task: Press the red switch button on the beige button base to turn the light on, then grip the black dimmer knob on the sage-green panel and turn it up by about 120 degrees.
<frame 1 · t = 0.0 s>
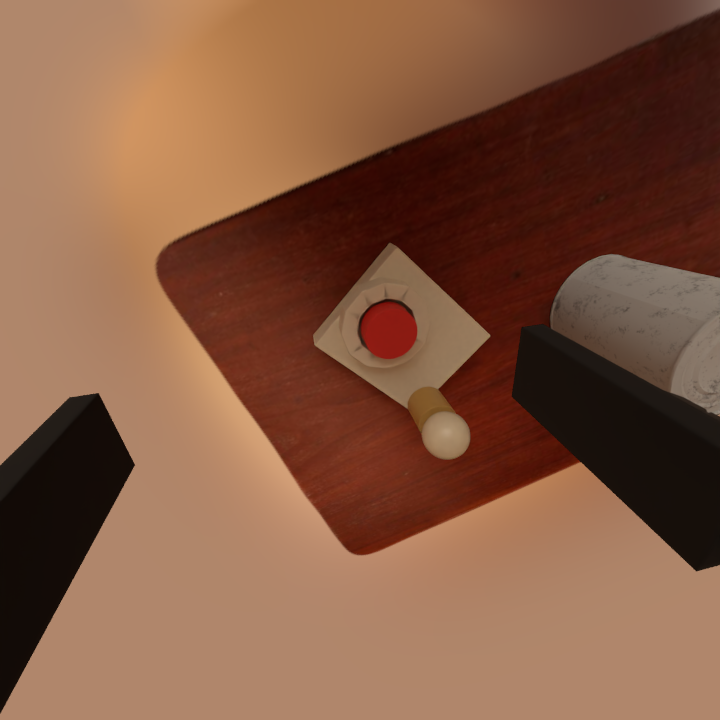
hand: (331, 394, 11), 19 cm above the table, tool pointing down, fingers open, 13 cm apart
unlabeled tin can: (593, 303, 34), on the table
beige button base: (399, 330, 32), on the table
led lamp: (424, 401, 31), resting on beige button base
lamp button: (388, 330, 26), point 4 cm above the table, slide at 0.1 cm
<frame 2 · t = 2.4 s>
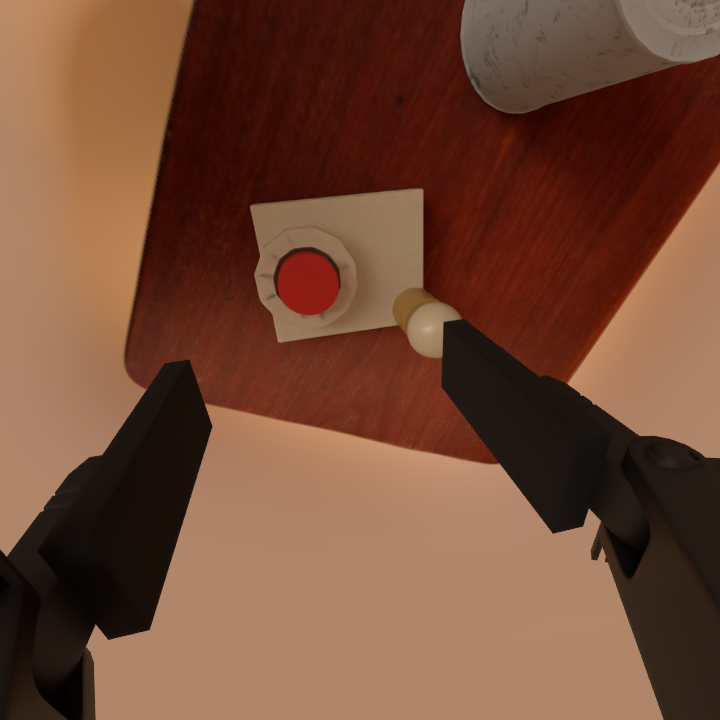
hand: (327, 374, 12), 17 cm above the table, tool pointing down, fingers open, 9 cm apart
unlabeled tin can: (525, 28, 24), on the table
beige button base: (342, 264, 28), on the table
led lamp: (412, 308, 26), resting on beige button base
lamp button: (308, 283, 24), point 4 cm above the table, slide at 0.1 cm
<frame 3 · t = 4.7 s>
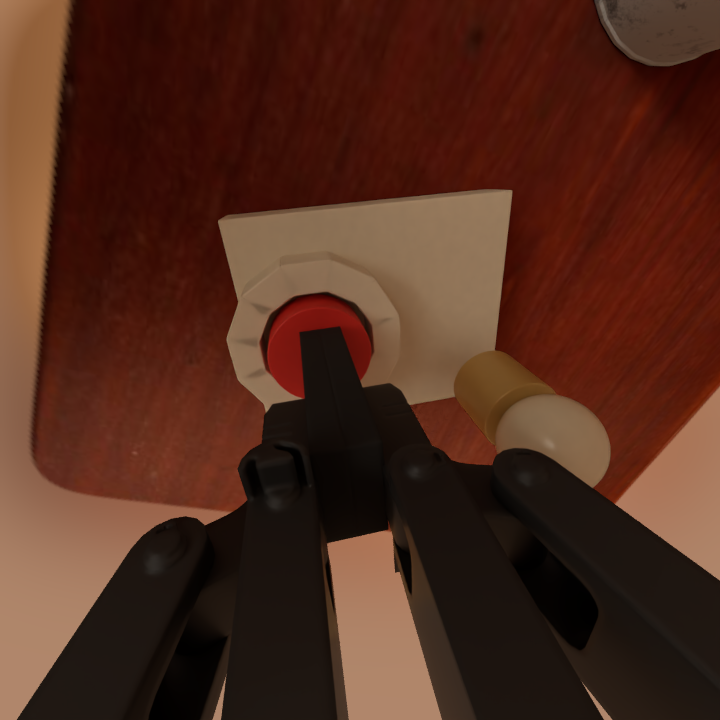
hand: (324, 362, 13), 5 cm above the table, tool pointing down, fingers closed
beige button base: (370, 306, 18), on the table
led lamp: (484, 380, 17), resting on beige button base
lamp button: (319, 347, 14), point 4 cm above the table, slide at -0.4 cm, touching gripper
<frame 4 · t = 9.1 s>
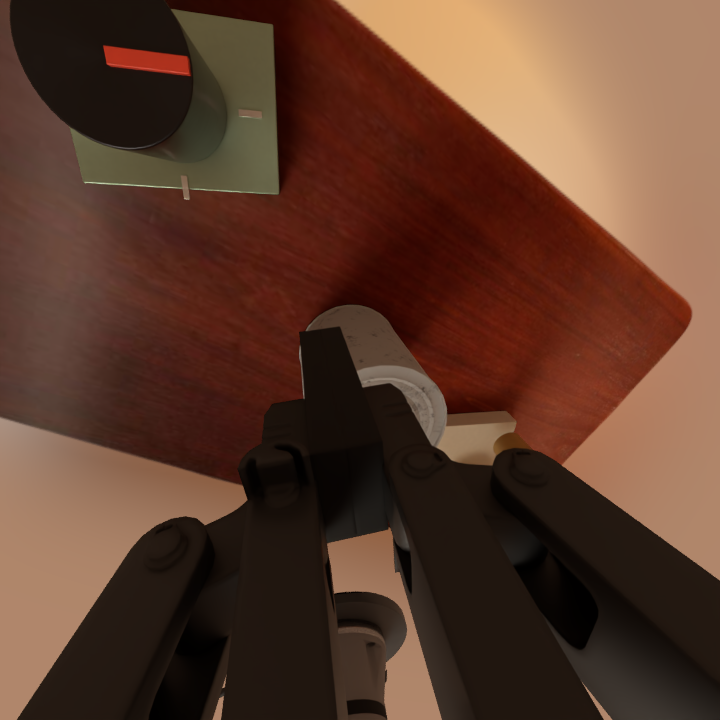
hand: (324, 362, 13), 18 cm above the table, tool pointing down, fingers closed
unlabeled tin can: (348, 351, 34), on the table
beige button base: (457, 454, 43), on the table
led lamp: (506, 444, 38), resting on beige button base
dimmer knob: (147, 86, 17), point 8 cm above the table, hinge at 0.0°
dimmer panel: (187, 115, 24), on the table
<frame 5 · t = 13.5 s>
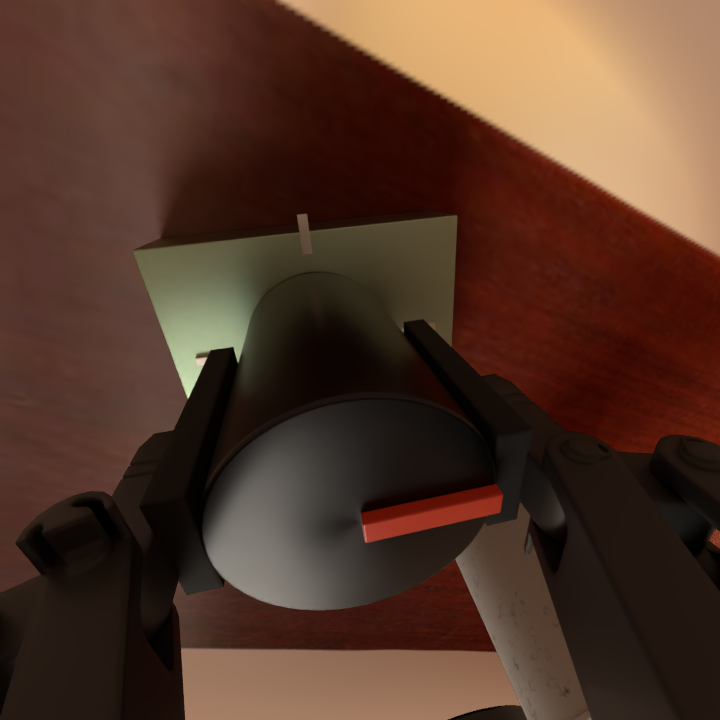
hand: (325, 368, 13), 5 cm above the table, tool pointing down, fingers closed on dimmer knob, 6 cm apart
unlabeled tin can: (498, 510, 28), on the table
dimmer knob: (333, 402, 11), point 8 cm above the table, hinge at 0.1°, touching gripper
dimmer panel: (315, 318, 18), on the table
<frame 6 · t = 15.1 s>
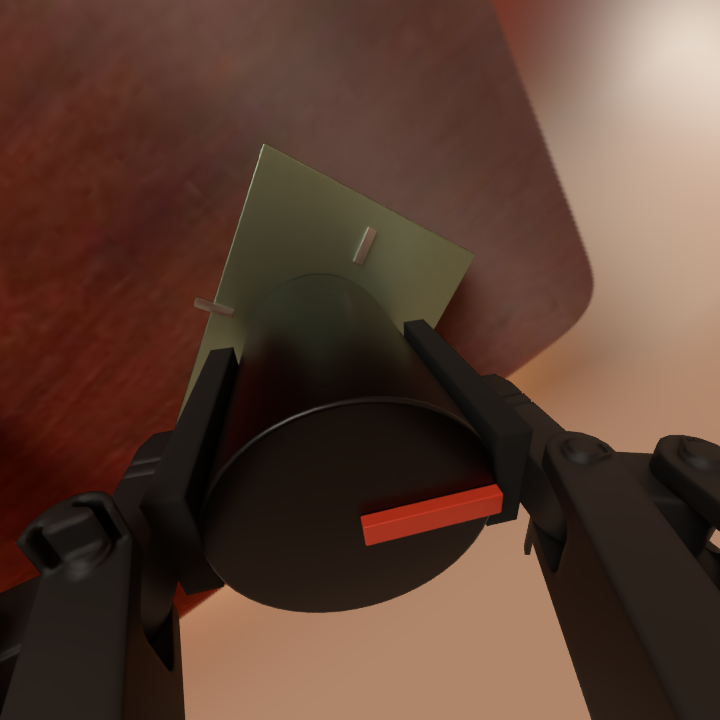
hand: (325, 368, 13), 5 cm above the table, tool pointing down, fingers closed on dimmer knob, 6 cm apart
dimmer knob: (333, 405, 11), point 8 cm above the table, hinge at 121.8°, touching gripper
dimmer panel: (315, 320, 18), on the table
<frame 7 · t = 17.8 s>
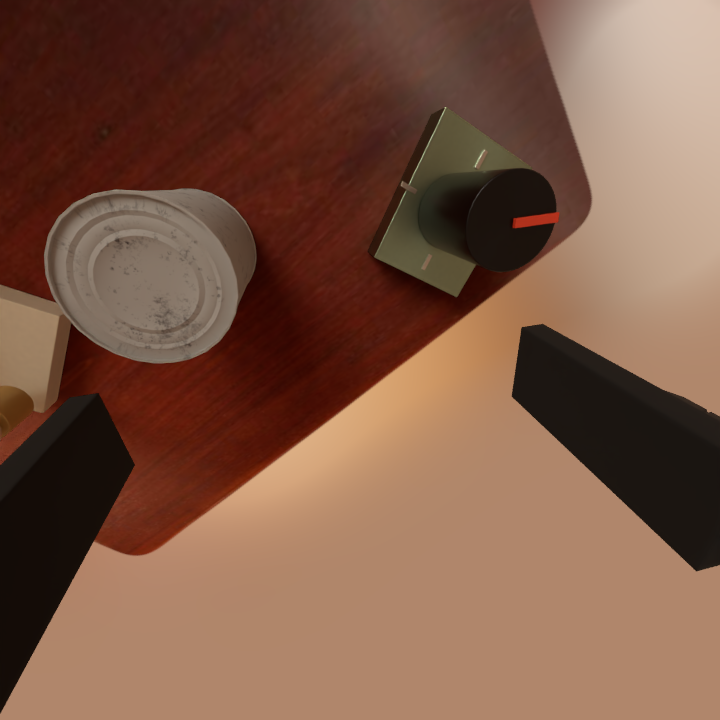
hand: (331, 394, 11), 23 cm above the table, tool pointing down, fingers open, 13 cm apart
unlabeled tin can: (199, 249, 30), on the table
led lamp: (11, 401, 29), resting on beige button base
dimmer knob: (478, 217, 25), point 8 cm above the table, hinge at 122.3°
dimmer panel: (438, 211, 32), on the table
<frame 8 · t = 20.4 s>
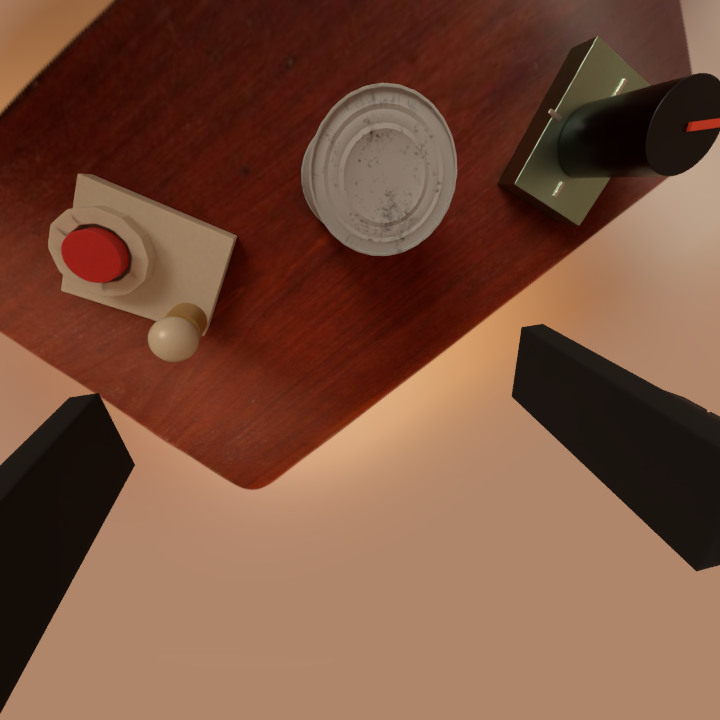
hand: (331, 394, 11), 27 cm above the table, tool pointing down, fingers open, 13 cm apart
unlabeled tin can: (352, 179, 33), on the table
beige button base: (156, 259, 33), on the table
led lamp: (188, 319, 32), resting on beige button base
dimmer knob: (631, 135, 28), point 8 cm above the table, hinge at 122.3°
lamp button: (96, 255, 28), point 4 cm above the table, slide at 0.1 cm
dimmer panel: (564, 144, 35), on the table
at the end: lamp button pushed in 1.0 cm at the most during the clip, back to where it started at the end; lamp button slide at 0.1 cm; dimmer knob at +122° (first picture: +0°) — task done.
